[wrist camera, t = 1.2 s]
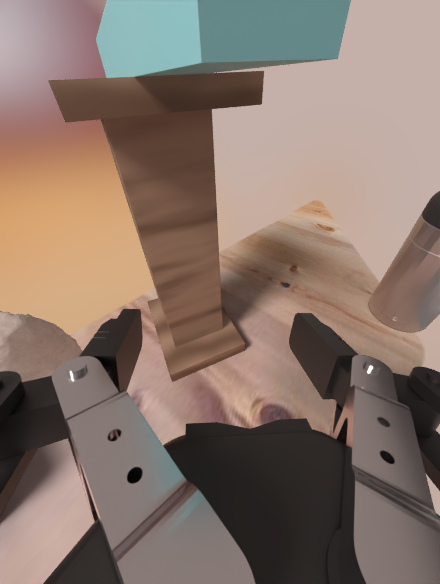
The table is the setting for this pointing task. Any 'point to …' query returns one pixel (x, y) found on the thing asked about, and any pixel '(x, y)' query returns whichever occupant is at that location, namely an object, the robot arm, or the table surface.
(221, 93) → the walnut stand
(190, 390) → the table surface
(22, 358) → the stone tool
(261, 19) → the teal bar
